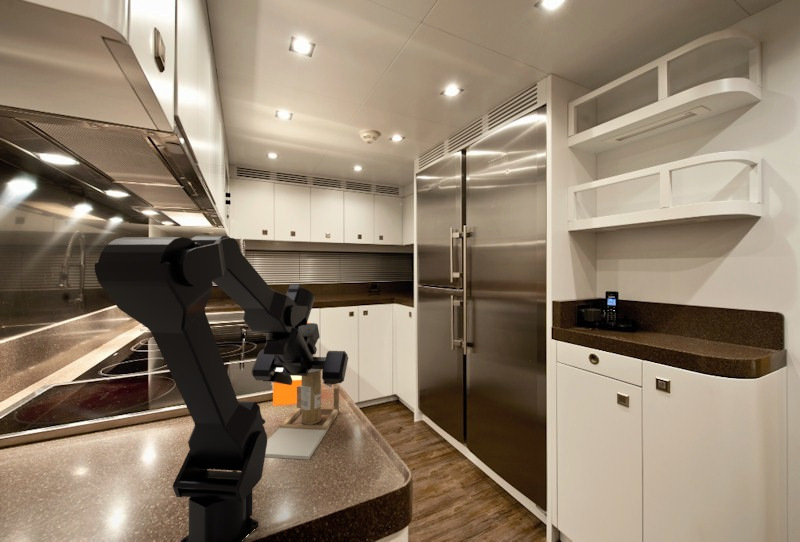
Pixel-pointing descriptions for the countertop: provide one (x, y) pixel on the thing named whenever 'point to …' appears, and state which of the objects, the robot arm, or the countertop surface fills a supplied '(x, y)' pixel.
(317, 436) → the mat
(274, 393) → the orange juice
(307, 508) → the countertop surface
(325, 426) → the frame
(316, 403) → the sprinkles bottle
